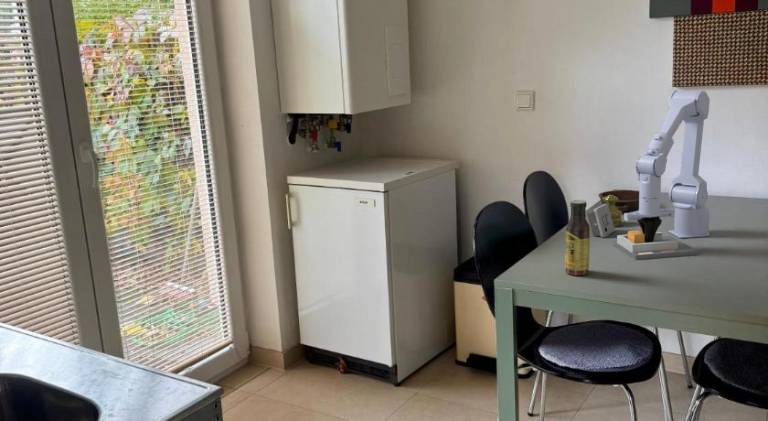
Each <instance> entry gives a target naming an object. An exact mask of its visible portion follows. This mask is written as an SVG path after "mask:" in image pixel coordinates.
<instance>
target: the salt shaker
mask: <svg viewBox="0 0 768 421" xmlns="http://www.w3.org/2000/svg"><path fill="white" fill-rule="evenodd" d="M603 201H605V203H606V204H608V207H609V211H610V214H611V218H612V221H613V225H614V228H618V227H621V226H622V224H623V222H622V221H623V218H622V215H623V211H622V212H621V211H620V210H619V209H618V208H617V207H616V206H615V203H616V202H617V201H618V198H617V197H615V196H613V195H608V196H606V197H604V198H603Z"/></svg>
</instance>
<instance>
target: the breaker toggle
mask: <svg viewBox="0 0 768 421" xmlns="http://www.w3.org/2000/svg"><path fill="white" fill-rule="evenodd" d="M627 234H628V240H630V241H631V242H633V243H635V244H638V243H644V236H645V234H644V233H643V232H642V231H640V230H638V229H637V230H628V231H627Z"/></svg>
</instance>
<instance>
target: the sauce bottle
mask: <svg viewBox="0 0 768 421" xmlns="http://www.w3.org/2000/svg"><path fill="white" fill-rule="evenodd" d="M569 205H570V206H569V207H570V218H569V220H568V222H567V225H566V228H565V243H564V245H565V247H564V248H565V249H564V250H565V251H564V254H565V255H564V257H565V258H564V259H565V260H564V267H565V273H567V274H569V275H571V276H585V275H587V274H588V273H589V268H590V248H591V247H590V245H591V244H590V242H591V240H590V238H591V236H590V230H591V227H590V223H589V221H588V220H587V219H586V217H587V209H586V208H587V205H588V204H587V201H586V200H585V199H573V200H571V201H570V204H569Z"/></svg>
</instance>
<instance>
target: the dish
mask: <svg viewBox="0 0 768 421" xmlns="http://www.w3.org/2000/svg"><path fill="white" fill-rule="evenodd" d="M608 195H613V196H615V197H617V198H618V201H617V202H616V203H615V206H616V207H617V208H618V209H619V210H620V211H621V212H622V213H623V212H635V211H639V190H632V189H620V190H619V189H618V190H616V189H615V190H607V191H604V192H600V193H599V194H598V197H599V199H600V201H601V204H602V205H603V204H606V203H605V201H603V198H604V197H606V196H608Z"/></svg>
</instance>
